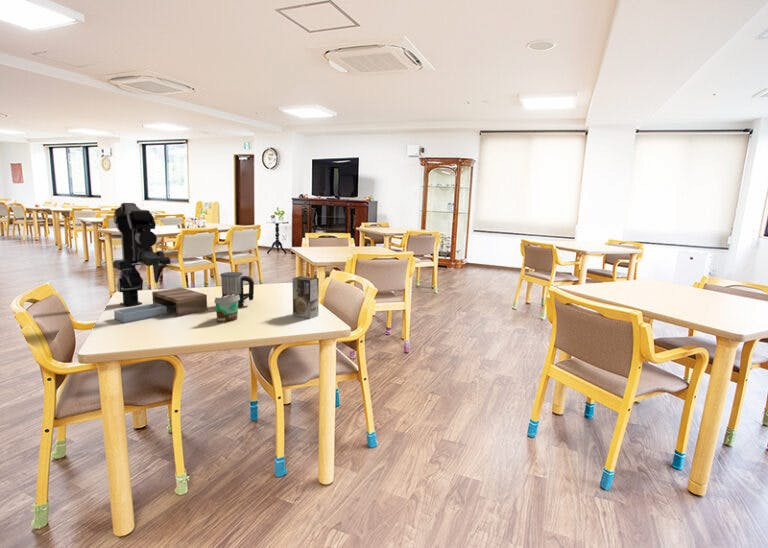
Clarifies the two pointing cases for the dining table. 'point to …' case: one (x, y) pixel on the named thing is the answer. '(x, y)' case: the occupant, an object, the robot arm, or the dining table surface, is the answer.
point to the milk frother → (236, 285)
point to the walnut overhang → (182, 300)
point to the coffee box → (305, 296)
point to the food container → (227, 307)
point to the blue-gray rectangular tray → (140, 312)
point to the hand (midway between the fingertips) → (144, 284)
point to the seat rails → (170, 305)
